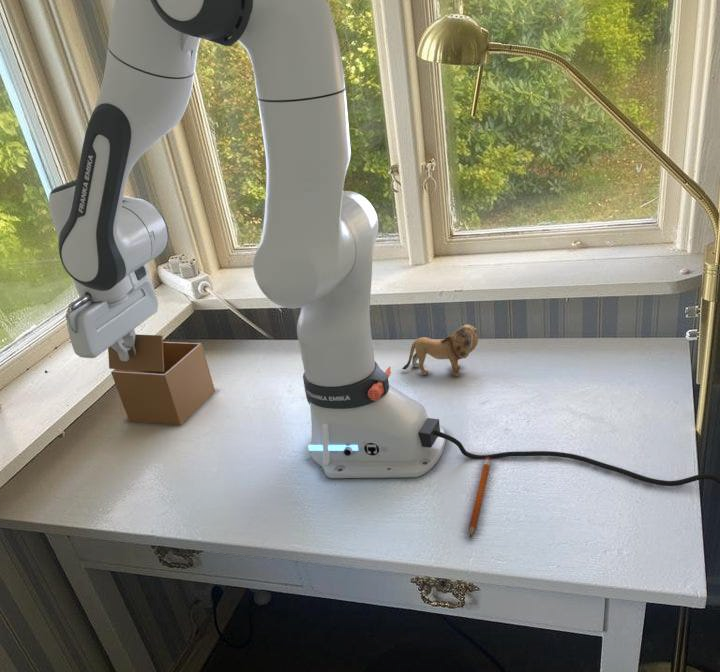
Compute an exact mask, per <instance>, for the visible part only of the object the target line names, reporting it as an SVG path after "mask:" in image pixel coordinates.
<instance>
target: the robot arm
mask: <svg viewBox="0 0 720 672" xmlns="http://www.w3.org/2000/svg"><path fill="white" fill-rule="evenodd" d="M335 24H336V23H335V21H334V18H333V14H332V10H331V7H330V4H329V2H328V1H327V0H114V2H113V8H112V13H111V18H110V24H109V33H108V42H107V52H106V60H105V67H104V72H103V77H102V81H101V86H100V90H99V92H98V93H99V94H98V97H97V100H96V103H95V106H94V108H93V111H92V113H91V115H90V118H89V121H88V124H87V126H86V131H85V134H84V138H83V144H82V147H81V153H80V157H79V158H80V159H79V163H78V169H77V170H78V171H77V175H76V179H74V180H71V181H69V182H66V183H64V184H61V185H59V186H56V187H55V188H53V189H52V190H51V191H50V193H49V195H48V206H49V212H50V217H51V220H52V224H53V227H54V230H55V233H56V236H57V239H58V254H59V258H60V261H61V264H62V266H63V268H64V270H65V271H66V273H67V274H68V276H70V277H71V278H72V280H73V283H74V285H75V288H76V291H77V294H78V298H77V299H76V300H73V301H71V302H70V303H68V305H67V306H68V308H67V310H66V313H65V320H66V326H67V332H68V335H69V339H70V343H71V346H72V349H73V352H74V354H75V355H77V356H78V357H80V358H82V359H83V358H85V359H96V358H97V357H99V356H100V355H102V354H103V353H104V352H105V351H107V350H108V348H109V347H110V346H111V347H112V348H113V349H114V350H115V351H116V352H118V355H119V358H120V360H121V361H128V360H129V359H130V358H132V357H133V356H134V355H135V354H136V349H135V346H134V345H135V334H136V331H135V329H136V328H138V327H139V326H140V325H142V324H144V322H145V321H147V320H148V319H150V318H151V317H152V316H153V315H156V313H157V312H158V309H159V300H158V296H157V293H156V290H155V286H154V284H153V282H152V279H151V278H150V277H149V274H150V269H149V266H148V263H149V262H151V261H152V260H154V259H157V257H159V256H160V255H161V254H162V253H163V252H164V251H165V250H166V249H167V247H168V244H169V229H168V228H169V227H168V223H167V222H166V219H165V217H164V215H163V214H162V212H161V211H160V209H158V207H157V206H156V205H154V204H153V203H152V202H150V201H149V200H147V199H144V198H142V197H131V196H128V195H125V191H126V187H127V183H128V182H127V181H128V178H129V176H130V174H131V172H132V170H133V168H134V166H135V165H136V163H137V162H138V161H139V159H140V158H142V156H143V155H144V154H145V153H146V152H147V151H148V150H149V149H150V148H151V147H152V146H153V145H154V144H156V143H157V142H158V141H159V140H160V139H161V138H163V137H164V136H165V135H167V134H168V133H169V132H171V131H172V130H173V129H174V128H175V127H176V126H177V125H178V124H179V123H180V121H181V120H182V118H183V116H184V114H185V112H186V109H187V107H188V104H189V101H190V98H191V95H192V90H193V85H194V79H195V71H196V67H197V59H198V51H199V47H200V42H201V40H206V41H209V42H212V43H215V44H218V45H221V46H222V47H223V46H224V47H232V46H233V45H234V44H236V43H237V42H238V43H239V44H241V46H242V47H243V48H244V49H245V50H246V52H247V54H248V56H249V60H250V61H251V65H252V71H253V77H254V83H255V84H254V85H255V90H256V97H257V104H258V105H257V106H258V110H259V112H258V113H259V117H260V124H261V133H262V140H263V146H264V154H265V164H266V165H265V166H266V167H265V168H266V169H265V170H266V183H265V199H264V213H263V223H262V231H261V236H260V240H259V243H258V246H257V249H256V252H255V254H254V258H253V263H252V264H253V266H252V268H253V269H252V270H253V275H254V278H255V281H256V284H257V286H258V287H259V289H260V290H261V291H260V292H262V294H263V295H264V296H265V297H266V298H267V299H269V300H270V301H271V302H272V303H274V304H276V305H277V306H279V307H281V308H286V309H291V310H293V309H300V312H299V315H298V318H297V319H298V320H297V323H296V336H297V341H298V346H299V352H300V356H301V361H302V366H303V374H302V381H303V386H304V391H305V398H306V401H307V404H308V405H309V407H310V408H309V409H310V422H311V435H310V436H311V437H310V438H311V439H310V444H308V445H307V448H308V451H309V454H310V457H311V459H312V460H313V461H314V462H315V464H318V465H319V467H321V468H322V470H323V472H324V474H325V476H326V477H327V478H329V479H382V478H383V479H385V478H386V479H387V478H390V479H391V478H393V479H394V478H399V479H400V478H419V477H422V476H423V475H425V474H427V473H428V472H429V471H430V470H432V468H434V466H435V465H437V463H438V461H439V460H440V459H441V456H442V455H443V453H444V450H445V447H446V443H447V442H446V441H448V442H451V443H453V444H455V445H456V446H457V447H458V449H459V451H460V453H461V454H462V455H463V456H465V457H466V458H469V459H472V460H485V458H486V457H489V458H490V459H491V460H492V459H493V460H494V459H501V458H508V457H510V458H511V457H554V458H555V457H557V458H564V459H571V460H574V461H579V462H583V463H587V464H590V465H593V466H596V467H597V468H601V469H604V470H608V471H611V472H613V473H614V472H615V473H618V474H621V475H624V476H627V477H628V478H629V477H630V478H632V479H635V480H638V481H640V482H644V483H647V484H651V485H657V486H664V487H676V486H677V487H678V486H682V485H686V484H690V483H694V482H696V481H702V480H713V481H714V482H717V483H718V484H720V476H718V475H716V474H713V473H699V474H696V475H693V476H689V477H685V478H682V479H677V480H664V479H657V478H652V477H648V476H645V475H641V474H639V473H636V472H633V471H630V470H627V469H625V468H621V467H618V466H615V465H611V464H607V463H605V462H602V461H598V460H596V459H594V458H593V459H592V458H589V457H586V456H582V455H578V454H574V453H568V452H562V451H561V452H560V451H547V450H531V451H527V450H526V451H505V452H498V453H493V454H475V453H472V452H469V451H467V450H466V448H465V447H464V445H463V444H462V442H460V441H459V440H458V439H457V438H455V437H453V436H452V435H449V434H447V433H445V431H444V429H443V427H442V426H441V425H440V419H439V418H432V417H429V415H428V413H427V410H426V409H425V407H424V405H423V404H421V403H420V402H419V401H417V400H415V399H413V398H412V397H411V396H408V395H407V394H405V393H404V392H402V391H400V390H399V389H397V388H395V387H394V386H392V385H390V382H389V378H390V376H391V374H392V371H391V366H388V367H387V369H386V370H385V371H384V370H382V369H381V368H380V366H379V364H378V363H377V362H376V360H375V354H374V346H373V337H372V329H371V314H370V313H371V294H372V293H371V292H372V277H373V259H374V251H375V246H376V242H377V237H378V234H379V219H378V214H377V212H376V210H375V208H374V207H373V205H372V203H371V202H370V201H369V200H368V198H366V197H364V195H362V194H360V193H358V192H355V191H352V190H344V187H345V180H346V175H347V172H348V168H349V165H350V162H351V155H352V149H351V138H350V137H351V136H350V125H349V115H348V114H349V113H348V103H347V91H346V80H345V73H344V72H345V71H344V66H343V65H344V64H343V59H342V53H341V48H340V41H339V38H338V33H337V30H336V25H335ZM123 338H124V341H123ZM123 343H124V346H123V345H122V344H123Z"/></svg>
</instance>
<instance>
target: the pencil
mask: <svg viewBox="0 0 720 672" xmlns="http://www.w3.org/2000/svg"><path fill="white" fill-rule="evenodd" d="M491 460H492V459H490V458H489V457H486V458H485V459H484V461H483V466H482V471H481V475H480V479H479V484H478V488H477V492H476V496H475V501H474V503H473V504H474V505H473V508H472V513H471V518H470V522H469V526H468V533H469V538H471V537H472V535H473V534H474V532H475V531H476V527H477V522H478V519H479V514H480V510H481V505H482V501H483V496H484V492H485V487H486V482H487V478H488V473H489V469H490V465H491V462H492V461H491Z"/></svg>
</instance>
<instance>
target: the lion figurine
mask: <svg viewBox="0 0 720 672" xmlns="http://www.w3.org/2000/svg"><path fill="white" fill-rule="evenodd" d="M477 331H478V330H477V327H474V326H473V325H471V324H464V325H461V326H459V328H458V329H457V330H456V331H454V332H453V333H452V334H449V335H447V337H445V338H444V339H433V338H430V337H426V336H422V337H419V338H416V339H415V340H414V341H413V342H412V344H411V346H410V350H409V356H408V361H407V363H406V364H405V365H403V366H402V368H401V369H402V370H407V369H408V368H409V367H410V365H412V367H413V368H419V371H420V373H421V374H422V375H423V376H428V375H429V373H430V372H429V370H426V369H425V367H424V364H425V361H426V357H427V355H429V356H431V357H432V358H434V359H436V360H449V362H450V365H451V371H452V374H453V376H455V377H459V376H461V372H460V371H459V370H460V369H461V366H460V365H459V360H462V359H467V358H468V357H469V355H470V353H472V352H473V351H474V350H476V348H477V345H478V343H479V337H478V333H477ZM414 352H415V354H414ZM417 361H418V362H417Z"/></svg>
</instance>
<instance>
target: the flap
mask: <svg viewBox="0 0 720 672" xmlns="http://www.w3.org/2000/svg"><path fill="white" fill-rule="evenodd" d="M123 341H124V338H123ZM163 342H164V335H161V334H158V335H157V334H137V333H135V345H134V346H135V349H136V354H135V355H134V356H133V357H132V358H130V359H129V360H128V361H121V360H120V358H119V355H118V352H116V351H115V350H114V349H113V348H112V347H111V346H110V347H109V348H108V349H107V353H108V354H107V355H108V369H111V370H114V369H123V370H140V371H157V372H164V355H163ZM122 345H123V346H124V343H123V344H122Z"/></svg>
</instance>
